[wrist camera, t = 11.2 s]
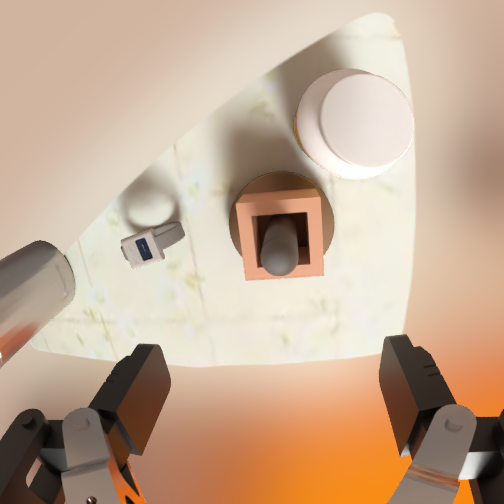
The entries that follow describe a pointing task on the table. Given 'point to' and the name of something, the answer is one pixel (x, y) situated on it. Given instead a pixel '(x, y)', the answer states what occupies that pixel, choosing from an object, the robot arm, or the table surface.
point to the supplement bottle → (354, 123)
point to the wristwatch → (151, 244)
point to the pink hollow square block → (280, 204)
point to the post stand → (282, 223)
